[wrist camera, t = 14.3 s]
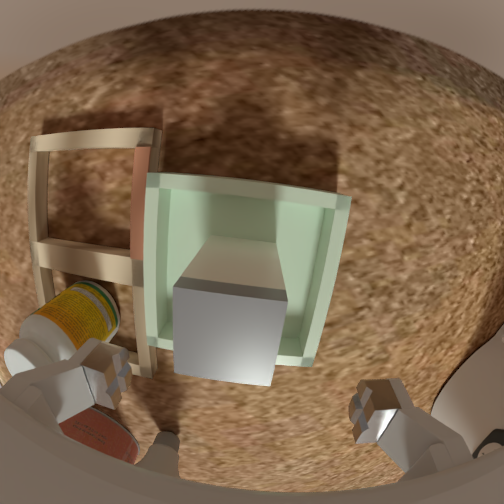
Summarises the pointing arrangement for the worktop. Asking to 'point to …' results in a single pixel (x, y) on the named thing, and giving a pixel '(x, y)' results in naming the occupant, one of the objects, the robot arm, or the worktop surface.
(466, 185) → the worktop surface
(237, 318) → the white grey-lidded container
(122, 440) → the canned food
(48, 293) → the light wooden flat frame
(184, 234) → the green tray
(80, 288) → the supplement bottle
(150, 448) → the lightbulb
